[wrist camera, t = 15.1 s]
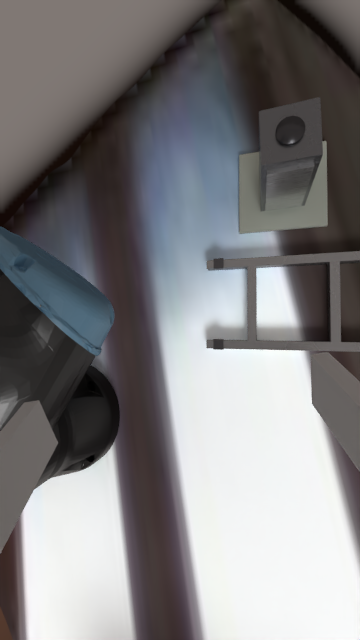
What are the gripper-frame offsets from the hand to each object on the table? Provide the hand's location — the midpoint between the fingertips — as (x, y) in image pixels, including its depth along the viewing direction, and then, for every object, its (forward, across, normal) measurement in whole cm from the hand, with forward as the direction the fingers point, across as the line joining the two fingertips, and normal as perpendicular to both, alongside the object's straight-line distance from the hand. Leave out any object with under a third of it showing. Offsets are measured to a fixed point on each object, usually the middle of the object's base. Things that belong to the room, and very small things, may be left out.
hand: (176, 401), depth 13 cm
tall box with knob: (+26, +14, +9) cm, 31 cm away
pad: (+26, +15, +8) cm, 31 cm away
